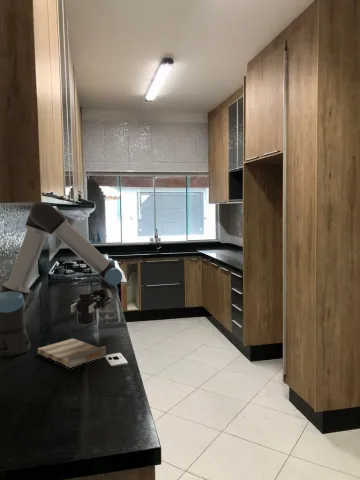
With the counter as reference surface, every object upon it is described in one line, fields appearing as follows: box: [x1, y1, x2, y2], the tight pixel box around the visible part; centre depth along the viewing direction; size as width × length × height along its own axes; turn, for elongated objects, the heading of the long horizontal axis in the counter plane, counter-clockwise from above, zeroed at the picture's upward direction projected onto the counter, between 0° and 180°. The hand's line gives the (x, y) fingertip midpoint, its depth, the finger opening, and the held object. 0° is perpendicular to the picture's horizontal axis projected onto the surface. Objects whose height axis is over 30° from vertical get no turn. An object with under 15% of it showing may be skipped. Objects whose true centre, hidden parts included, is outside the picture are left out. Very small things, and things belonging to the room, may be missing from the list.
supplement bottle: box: [76, 291, 95, 325], centre depth 156 cm, size 7×7×12 cm
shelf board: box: [37, 337, 107, 369], centre depth 150 cm, size 23×16×4 cm
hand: (80, 309), depth 151 cm, fingers closed on supplement bottle, 7 cm apart
